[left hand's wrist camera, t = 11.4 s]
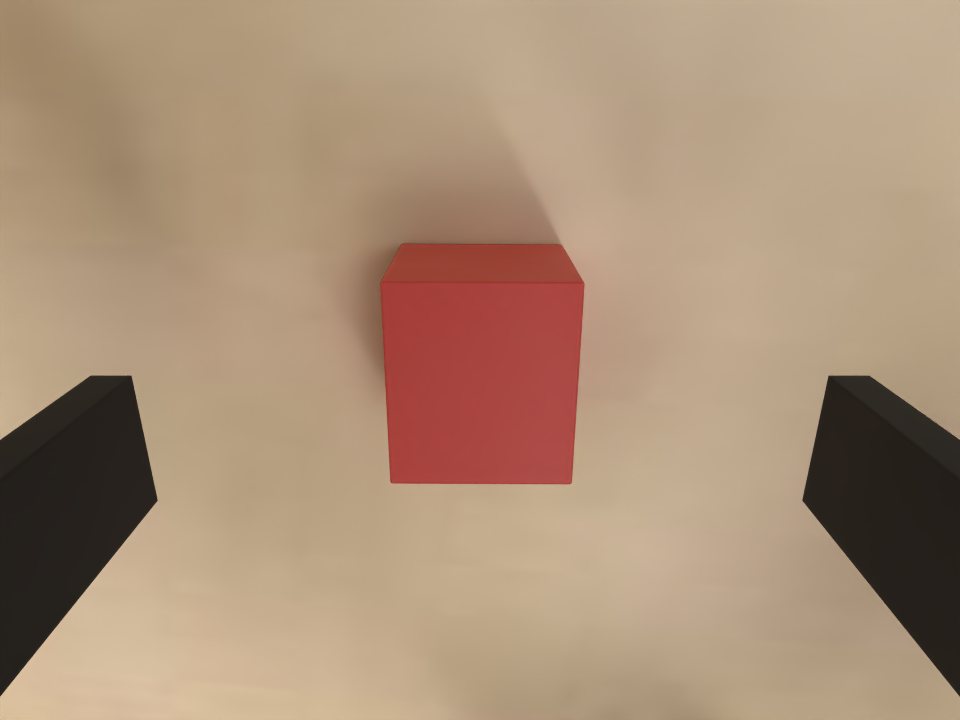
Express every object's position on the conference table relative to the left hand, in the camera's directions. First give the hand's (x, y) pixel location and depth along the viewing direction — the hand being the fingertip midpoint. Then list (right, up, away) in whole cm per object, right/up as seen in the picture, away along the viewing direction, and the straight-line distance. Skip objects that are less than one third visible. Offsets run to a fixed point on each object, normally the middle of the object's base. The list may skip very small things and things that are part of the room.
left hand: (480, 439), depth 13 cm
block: (0, +2, +6) cm, 7 cm away
